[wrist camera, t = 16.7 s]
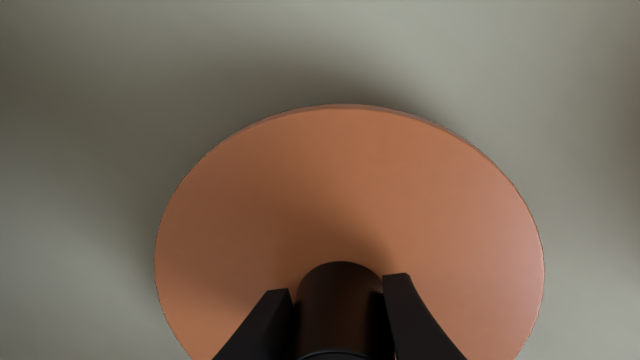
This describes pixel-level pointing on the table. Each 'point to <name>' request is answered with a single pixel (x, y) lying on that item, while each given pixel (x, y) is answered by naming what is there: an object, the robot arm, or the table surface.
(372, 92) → the table surface
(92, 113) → the table surface
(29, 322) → the table surface
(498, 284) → the pot lid
